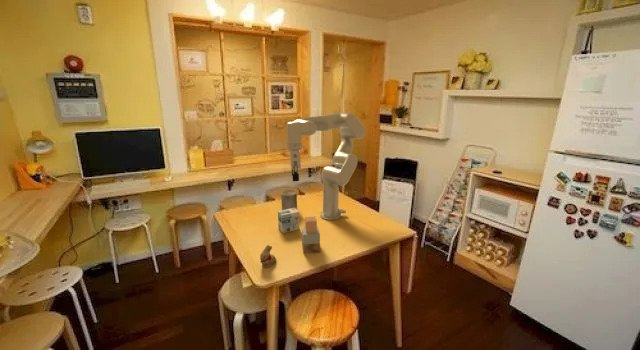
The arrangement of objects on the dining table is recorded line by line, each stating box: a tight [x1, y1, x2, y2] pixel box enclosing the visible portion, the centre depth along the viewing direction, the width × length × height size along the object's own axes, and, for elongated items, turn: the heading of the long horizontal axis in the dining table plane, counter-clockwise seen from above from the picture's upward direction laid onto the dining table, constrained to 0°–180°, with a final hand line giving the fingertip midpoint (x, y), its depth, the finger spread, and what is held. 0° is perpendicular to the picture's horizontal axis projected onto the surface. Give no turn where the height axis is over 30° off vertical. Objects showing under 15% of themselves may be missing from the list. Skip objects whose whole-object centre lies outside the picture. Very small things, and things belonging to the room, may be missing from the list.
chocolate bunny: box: [259, 244, 277, 269], centre depth 127 cm, size 6×8×10 cm
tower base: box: [301, 239, 321, 254], centre depth 140 cm, size 8×8×5 cm
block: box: [304, 216, 318, 233], centre depth 138 cm, size 5×5×6 cm
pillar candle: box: [280, 189, 298, 210], centre depth 180 cm, size 10×10×15 cm
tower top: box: [301, 225, 321, 244], centre depth 139 cm, size 8×8×5 cm
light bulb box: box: [277, 208, 300, 234], centre depth 159 cm, size 11×7×11 cm, turn 118°
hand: (295, 178), depth 151 cm, fingers open, 9 cm apart
